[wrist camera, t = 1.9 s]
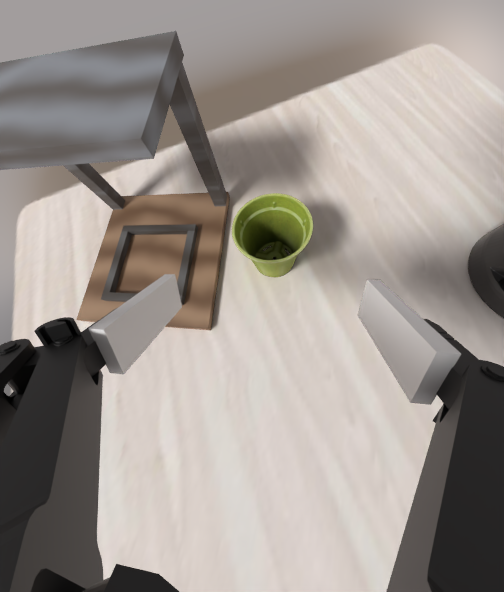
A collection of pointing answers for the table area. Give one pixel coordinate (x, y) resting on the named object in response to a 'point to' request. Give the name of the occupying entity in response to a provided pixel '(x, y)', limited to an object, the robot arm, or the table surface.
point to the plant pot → (272, 232)
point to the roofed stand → (121, 147)
